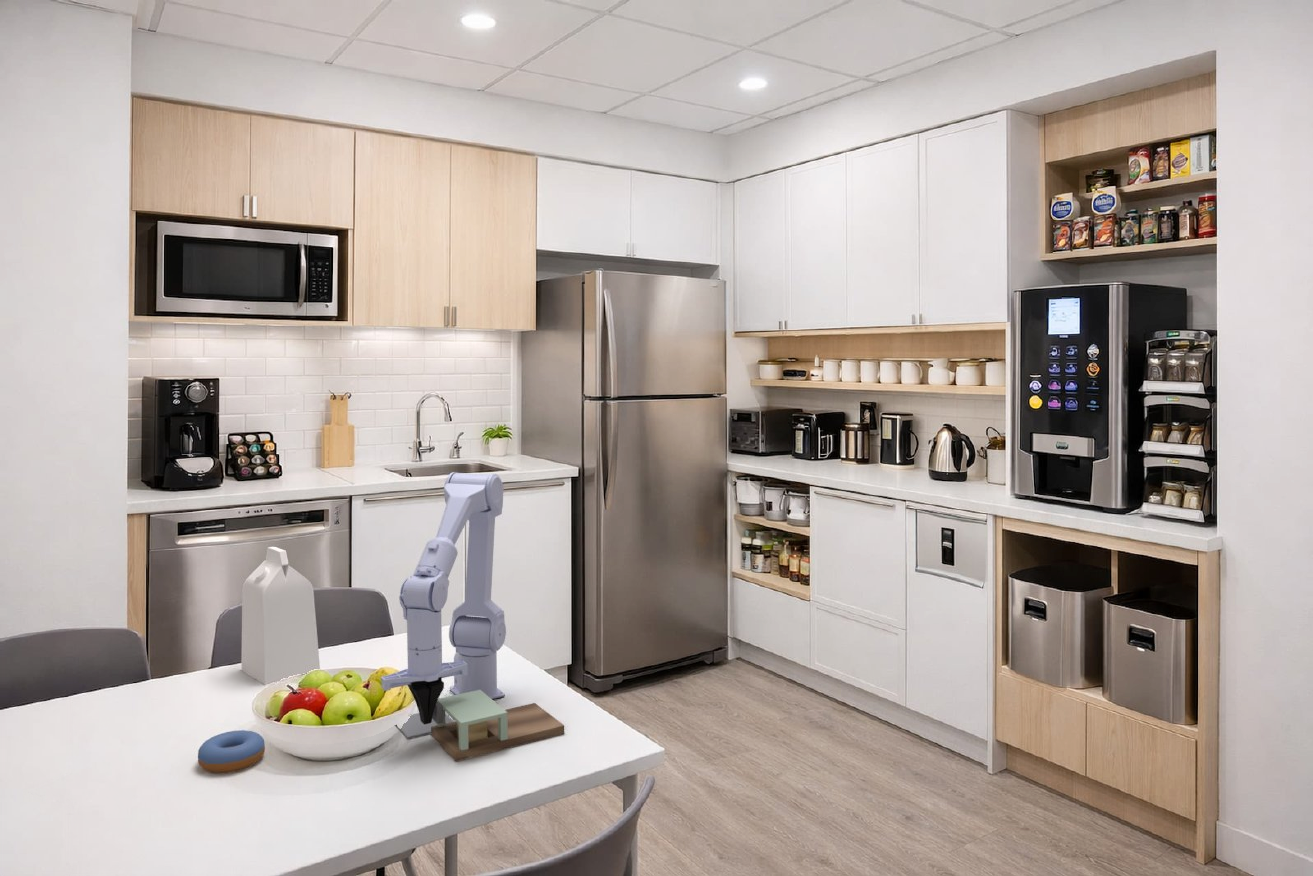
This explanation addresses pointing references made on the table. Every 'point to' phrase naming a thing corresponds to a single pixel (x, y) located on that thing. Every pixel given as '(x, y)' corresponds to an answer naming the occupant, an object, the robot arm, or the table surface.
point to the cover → (470, 713)
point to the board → (522, 729)
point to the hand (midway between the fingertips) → (426, 721)
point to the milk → (278, 621)
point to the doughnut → (231, 751)
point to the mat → (418, 726)
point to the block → (475, 731)
